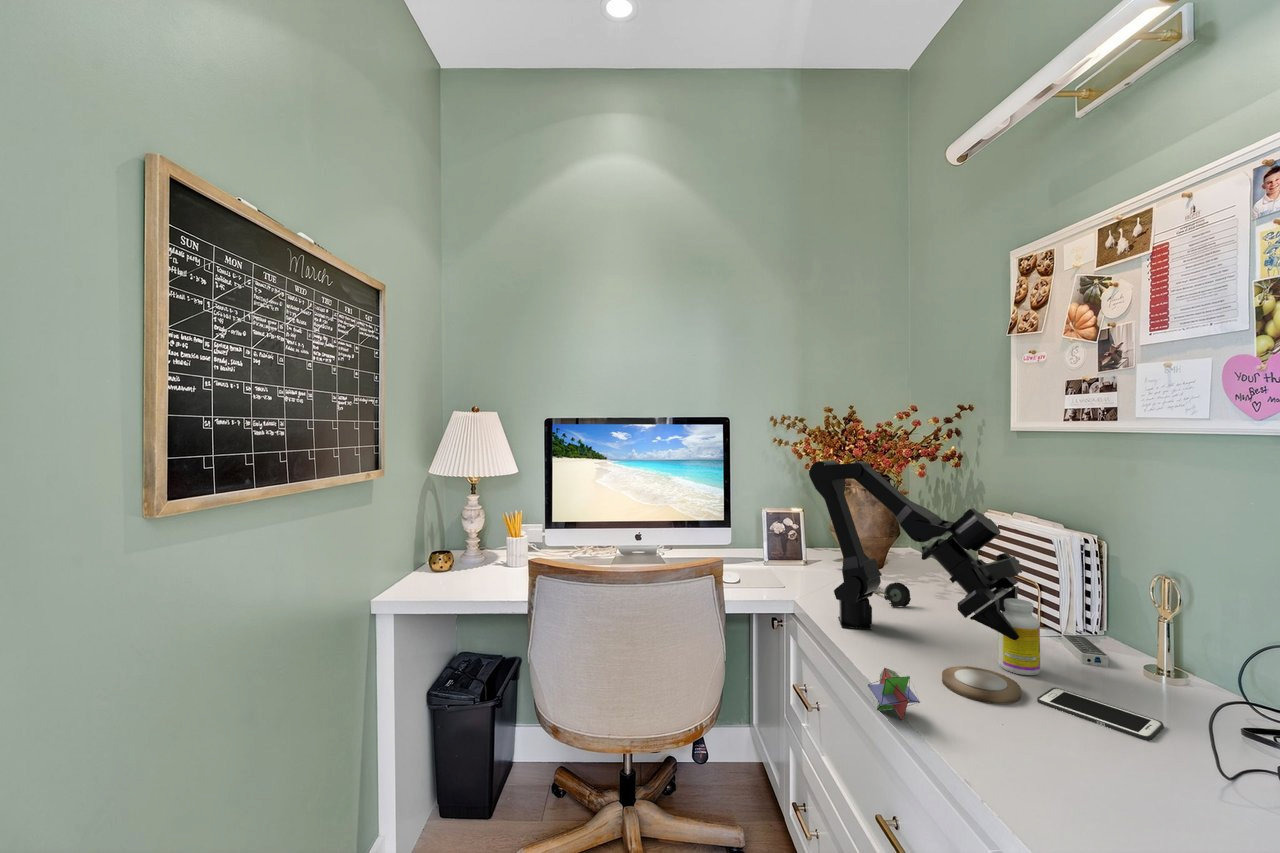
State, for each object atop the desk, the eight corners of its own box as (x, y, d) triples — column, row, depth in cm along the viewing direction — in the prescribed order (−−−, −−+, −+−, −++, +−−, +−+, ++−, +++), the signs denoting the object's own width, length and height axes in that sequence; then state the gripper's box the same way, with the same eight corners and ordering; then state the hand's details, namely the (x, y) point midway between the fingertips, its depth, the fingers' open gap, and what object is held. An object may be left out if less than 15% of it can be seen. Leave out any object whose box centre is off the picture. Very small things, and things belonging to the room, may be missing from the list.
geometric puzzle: (934, 714, 86) (914, 660, 90) (893, 718, 85) (875, 662, 89) (911, 723, 91) (893, 671, 96) (872, 726, 90) (856, 674, 95)
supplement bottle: (1047, 678, 103) (1047, 608, 103) (1007, 675, 104) (1007, 606, 104) (1029, 663, 109) (1029, 597, 109) (992, 660, 111) (992, 595, 111)
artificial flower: (883, 615, 142) (871, 577, 143) (844, 599, 165) (833, 565, 166) (915, 604, 143) (902, 566, 144) (872, 589, 166) (861, 556, 167)
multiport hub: (1085, 647, 118) (1085, 636, 118) (1109, 668, 108) (1109, 656, 108) (1060, 645, 119) (1060, 634, 120) (1081, 665, 109) (1081, 653, 109)
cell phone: (1053, 691, 98) (1053, 686, 98) (1165, 728, 86) (1165, 722, 86) (1034, 704, 94) (1034, 698, 94) (1149, 744, 82) (1149, 738, 82)
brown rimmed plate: (954, 699, 95) (954, 690, 95) (933, 669, 106) (933, 662, 106) (1034, 707, 92) (1034, 698, 92) (1004, 675, 104) (1004, 667, 104)
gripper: (975, 547, 104) (1047, 621, 96) (1005, 534, 116) (1072, 599, 108) (931, 581, 110) (995, 654, 101) (964, 565, 122) (1024, 629, 114)
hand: (1024, 632), depth 106 cm, fingers open, 9 cm apart
